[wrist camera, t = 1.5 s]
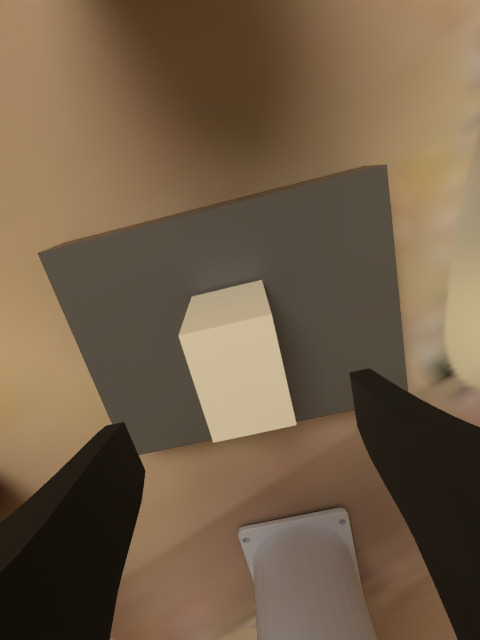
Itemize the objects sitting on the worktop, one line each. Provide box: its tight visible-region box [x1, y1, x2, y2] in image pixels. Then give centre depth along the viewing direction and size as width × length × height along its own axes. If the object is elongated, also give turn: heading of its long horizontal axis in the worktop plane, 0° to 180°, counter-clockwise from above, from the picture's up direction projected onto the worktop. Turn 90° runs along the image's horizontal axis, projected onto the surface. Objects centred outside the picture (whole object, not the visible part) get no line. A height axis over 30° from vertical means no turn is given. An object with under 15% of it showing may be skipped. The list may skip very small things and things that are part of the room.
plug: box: [178, 280, 297, 443], centre depth 18 cm, size 5×3×8 cm
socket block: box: [38, 165, 408, 455], centre depth 20 cm, size 12×16×3 cm
